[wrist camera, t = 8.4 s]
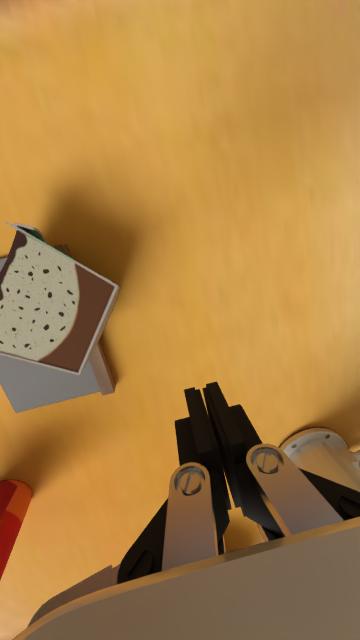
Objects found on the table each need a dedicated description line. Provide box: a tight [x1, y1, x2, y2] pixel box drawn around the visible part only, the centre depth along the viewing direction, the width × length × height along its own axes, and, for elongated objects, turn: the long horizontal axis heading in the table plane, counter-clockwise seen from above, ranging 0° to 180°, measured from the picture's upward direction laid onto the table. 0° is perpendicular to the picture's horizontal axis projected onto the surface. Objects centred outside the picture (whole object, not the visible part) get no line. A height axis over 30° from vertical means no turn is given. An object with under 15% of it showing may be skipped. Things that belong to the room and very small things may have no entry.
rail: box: [54, 245, 116, 395], centre depth 28 cm, size 2×18×2 cm, turn 12°
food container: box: [0, 222, 120, 376], centre depth 24 cm, size 12×6×10 cm
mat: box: [0, 258, 101, 413], centre depth 28 cm, size 11×18×1 cm, turn 12°
